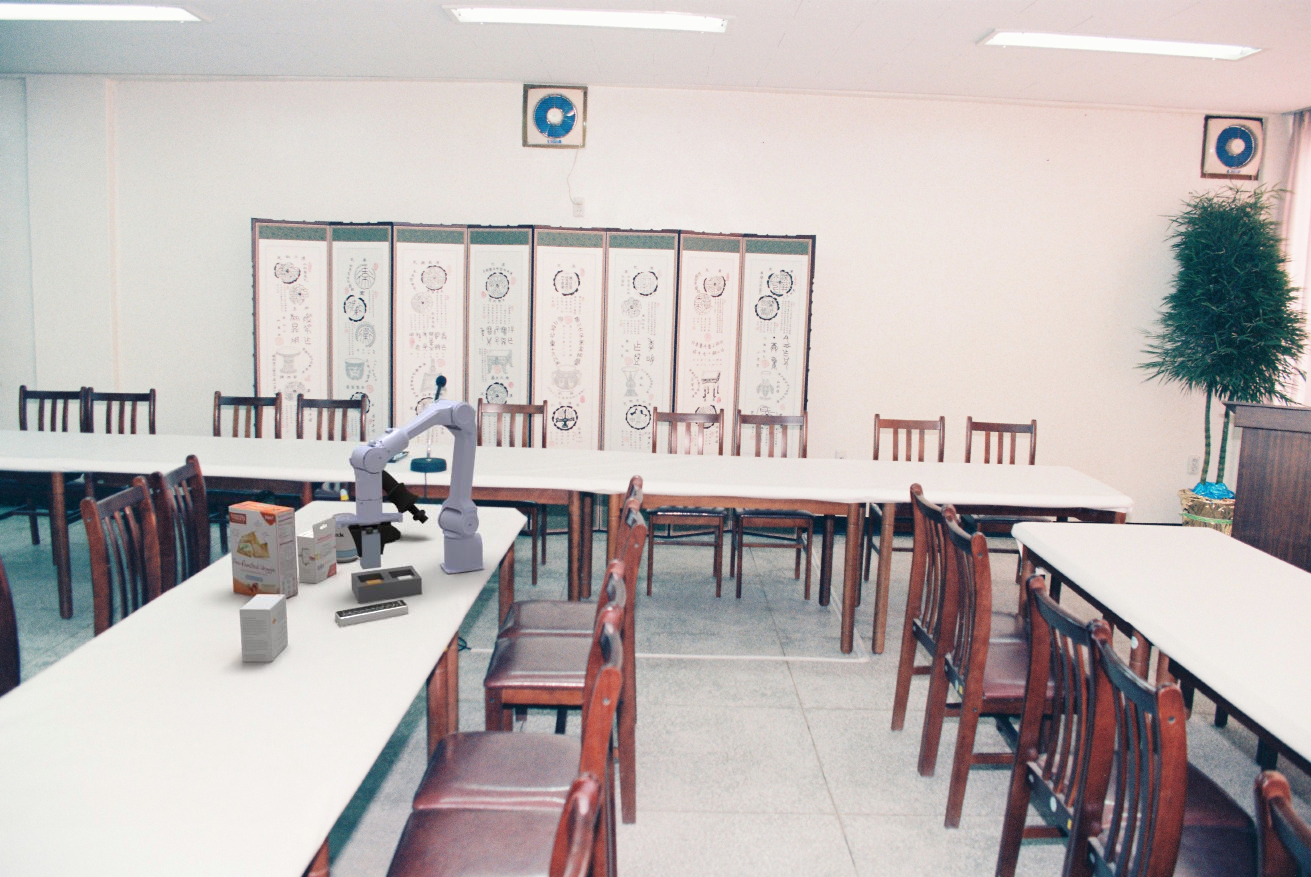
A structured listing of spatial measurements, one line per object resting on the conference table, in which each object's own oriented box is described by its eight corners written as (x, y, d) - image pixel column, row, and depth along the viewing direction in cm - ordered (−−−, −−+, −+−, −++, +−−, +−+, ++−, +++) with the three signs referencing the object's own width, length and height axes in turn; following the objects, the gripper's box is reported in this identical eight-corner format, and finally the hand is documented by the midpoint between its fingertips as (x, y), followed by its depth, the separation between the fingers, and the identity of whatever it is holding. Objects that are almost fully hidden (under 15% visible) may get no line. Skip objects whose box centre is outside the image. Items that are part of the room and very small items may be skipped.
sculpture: (358, 529, 232) (356, 448, 228) (436, 533, 231) (435, 451, 227) (336, 544, 216) (333, 457, 213) (419, 548, 216) (418, 460, 212)
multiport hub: (334, 621, 165) (334, 611, 164) (402, 608, 173) (402, 598, 172) (339, 628, 161) (339, 618, 161) (408, 615, 169) (408, 605, 169)
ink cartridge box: (319, 571, 194) (317, 514, 192) (337, 573, 193) (335, 516, 191) (297, 582, 186) (295, 523, 184) (316, 584, 185) (313, 525, 183)
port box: (411, 581, 189) (411, 564, 189) (421, 594, 181) (421, 576, 180) (351, 589, 182) (351, 572, 182) (358, 603, 174) (358, 585, 173)
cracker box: (231, 593, 177) (226, 505, 174) (253, 585, 183) (249, 499, 180) (278, 603, 173) (274, 512, 169) (299, 594, 178) (295, 506, 175)
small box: (259, 644, 151) (256, 593, 150) (288, 644, 152) (286, 593, 150) (241, 662, 144) (238, 609, 142) (272, 662, 144) (269, 609, 142)
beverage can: (324, 561, 202) (323, 516, 200) (344, 554, 208) (343, 511, 206) (345, 565, 199) (344, 520, 198) (364, 557, 206) (363, 514, 204)
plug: (377, 562, 182) (376, 525, 181) (381, 567, 179) (380, 529, 177) (359, 564, 180) (358, 527, 179) (362, 569, 177) (361, 531, 175)
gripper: (397, 491, 184) (398, 546, 186) (332, 496, 176) (334, 553, 178) (404, 498, 178) (405, 554, 180) (337, 503, 170) (338, 562, 172)
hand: (370, 554), depth 179 cm, fingers closed on plug, 4 cm apart
